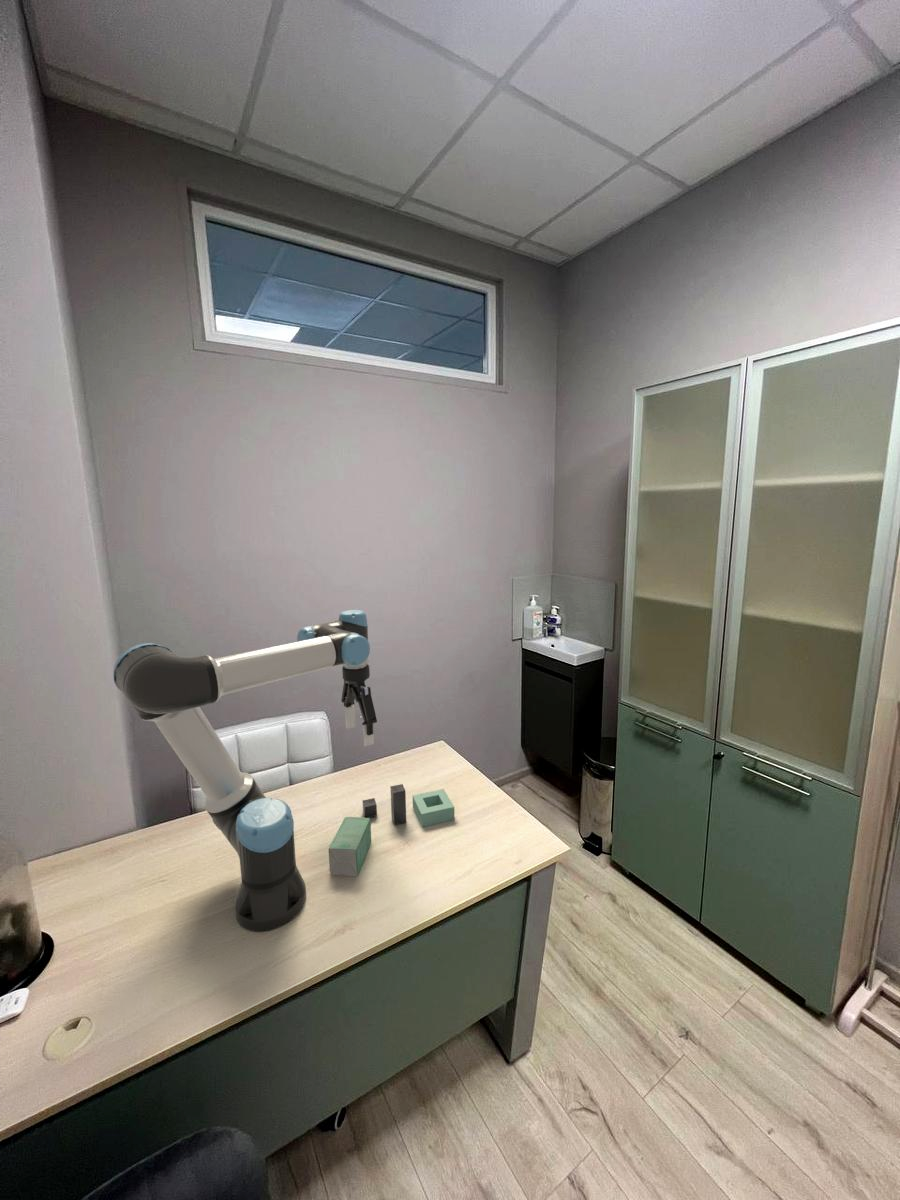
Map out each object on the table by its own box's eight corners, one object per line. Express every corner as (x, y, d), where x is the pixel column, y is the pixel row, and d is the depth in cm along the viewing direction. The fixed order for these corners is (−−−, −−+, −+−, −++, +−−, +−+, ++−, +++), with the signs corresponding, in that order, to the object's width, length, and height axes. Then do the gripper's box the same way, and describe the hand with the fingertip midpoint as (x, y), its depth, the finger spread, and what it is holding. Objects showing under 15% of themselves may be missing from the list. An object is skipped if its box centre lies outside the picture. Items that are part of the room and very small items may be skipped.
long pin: (406, 823, 138) (405, 790, 136) (394, 825, 137) (393, 793, 135) (403, 815, 141) (402, 784, 139) (391, 818, 140) (390, 786, 138)
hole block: (454, 819, 139) (454, 806, 139) (421, 826, 136) (421, 814, 135) (443, 800, 149) (443, 788, 148) (412, 807, 145) (412, 795, 145)
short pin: (377, 816, 141) (376, 804, 140) (364, 819, 140) (364, 807, 139) (374, 809, 144) (374, 798, 144) (363, 812, 143) (362, 800, 143)
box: (372, 840, 131) (370, 816, 129) (358, 877, 117) (356, 850, 116) (346, 839, 131) (344, 814, 130) (329, 875, 118) (327, 848, 117)
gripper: (387, 674, 125) (390, 748, 129) (351, 652, 146) (355, 717, 150) (360, 679, 121) (364, 756, 125) (327, 657, 142) (332, 723, 146)
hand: (359, 735), depth 137 cm, fingers open, 13 cm apart
